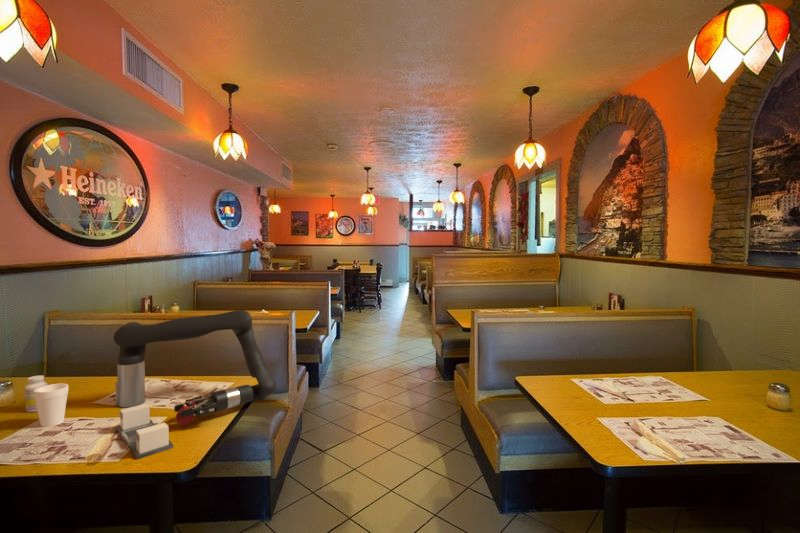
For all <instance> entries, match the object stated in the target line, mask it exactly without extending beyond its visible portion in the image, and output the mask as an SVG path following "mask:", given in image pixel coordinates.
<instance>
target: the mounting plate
mask: <svg viewBox="0 0 800 533" xmlns="http://www.w3.org/2000/svg"><path fill="white" fill-rule="evenodd" d="M158 424H159V423H158V422H156V421H155V422H153V421H152V419H150V423H148V424H144V425H140V426H137V427H133V428H129V429H126V430H123V429H122V428H121V426H120V425H116V426H115V427H116V431H117V432H118V434H119V435H120V437H121V438H122V440H123V439H124V440H123V441H124V442H126V443H125V444H126V445H128V446H127V447H128V448H130V449H129V450H130V452H131V453H132V455H133V456H134V458H135V459H136V460H140V459H142V458H145V457H149V456H152V455H154V454H158V453H161V452H165V451H168V450H170V449H174V444H173V443H172V442H171V441H170V440H169V445H166V446H163V447H160V448H157V449H153V450H150V451H147V452H144V453H141V454H140V453H139V452H138V451H137V449H136V438H135V433H136V430H140V429H143V428H147V427H150V426H154V425H158Z"/></svg>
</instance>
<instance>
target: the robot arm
mask: <svg viewBox="0 0 800 533" xmlns="http://www.w3.org/2000/svg"><path fill="white" fill-rule="evenodd" d="M225 330H229V331H230V330H231V331H232V332H233V333H234V335H235V336H236V338H237V340H238V341H239V344H240V347H241V349H242V353H243V356H244V360H245V363H246V367H247V370H248V372H249V374H250V376H251V378H254V379H255V380H256V382H257V384H252V385H250V384H243V385H240V386H239V385H238V386H235V387H229V388H225V389H219V390H215V391H212V392H211V393H210V395H209V397H203V395H199V396H196V397H192V398H188V399H186V400H185V402H184V403H180V404H176V405H174V407H173V409H174V412H175V413H177V412H178V411H179V410H180V409H181V408H182V407H183V405H184V404H186V405H187V406H188V407H190V409H186V410H183V411H181V412H180V416H181V417H186V416H190V415H192V414H193V415H194V416H196V417H201V416H205V415H209V414H215V413H217V412H221V411H225V410H228V409H231V408H235V407H236V406H241V405H244V404H248V403H252V402H260V401H263V400H265V399H267V398H268V397H269V398H270V396H271V395H272V394H273V393H274V392H275V391H276V388H277V384H276V380H275V378H274V376H273V375H272V374H271V372H270V370H269V369H268V368H267V365H266V361H265V359H264V356H263V354H262V351H260V348H259V346H258V344H257V341H256V339H255V335H254V329H253V320H252V316H251V313H249V311H247V310H243V309H238V310H231V311H228V312H223V313H217V314H209V315H207V314H206V315H197V316H196V315H195V316H187V317H185V316H184V317H180V318H174V319H170V320H166V321H162V322H159V323H155V324H144V325H143V324H141V323H140V322H136V321H131V322H127V323H125V324H124V325H122V326H120V327H119V328H117V330H116V331H115V332H114V335H113V341H114V343H115V344H116V345H117V346H119V352H118V355H117V358H116V361H117V365H116V366H117V367H116V368H117V369H116V371H117V381H116V382H115V406H117V407H120V408H130V407H134V406H138V405H143V404H144V403H145V401H146V385H145V384H146V381H145V380H146V377H145V376H146V372H145V371H146V370H145V366H146V364H145V356H146V352H147V344H152V343H160V342H174V341H182V340H191V339H197V338H200V337H204V336H206V335H209V334H211V333H214V332H218V331H225Z"/></svg>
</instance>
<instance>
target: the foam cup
mask: <svg viewBox="0 0 800 533" xmlns="http://www.w3.org/2000/svg"><path fill="white" fill-rule="evenodd" d="M68 394H69V384H68V383H65V382H64V383H52V384H48V385H46V386H42V387H39V388H37V389H35V390H34V398H35V401H36V406H37V410H38V411H37V414H38V419H39V423H40V427H43V428H44V427H45V428H46V427H47V428H48V427H49V428H50V427H53V426H58V425H60V424H62V423H64V420H65V414H66V406H67V400H68Z"/></svg>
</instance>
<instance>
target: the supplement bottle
mask: <svg viewBox="0 0 800 533" xmlns="http://www.w3.org/2000/svg"><path fill="white" fill-rule="evenodd" d="M44 380H45V375H43V374H42V375H33V376H29V377H28V378H27V382H28V384H26V385H25V386H24V404H25V405H24V406H25V411H26V412H27V413H35V412H38V410H37V406H36V401H35V398H34V390H35V389H37V388H39V387H42V386H46V385H49V384H48V382H47V381H44Z"/></svg>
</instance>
